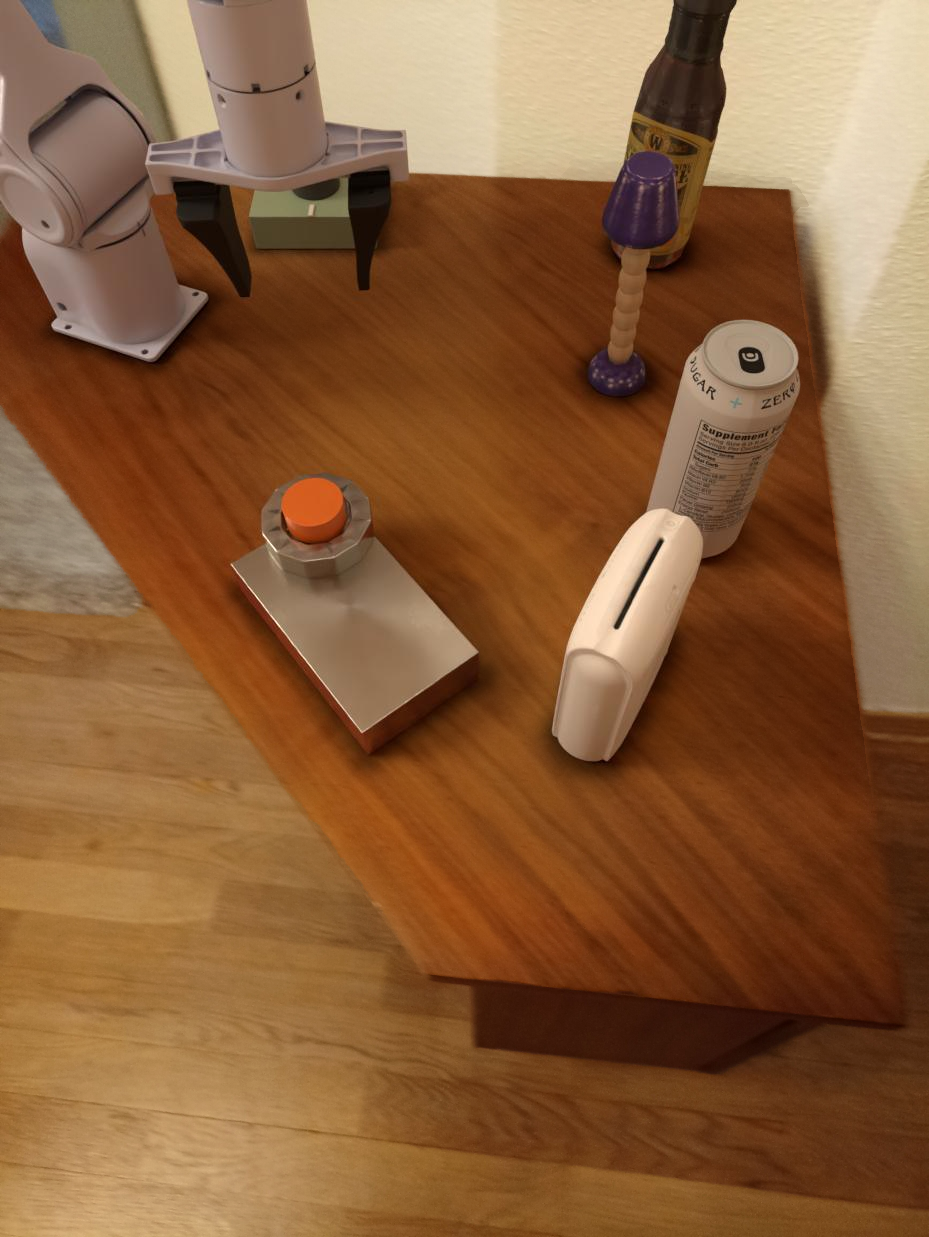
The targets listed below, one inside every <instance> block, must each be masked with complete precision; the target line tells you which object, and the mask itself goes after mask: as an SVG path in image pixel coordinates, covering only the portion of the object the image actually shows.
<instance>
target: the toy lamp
mask: <svg viewBox="0 0 929 1237" xmlns="http://www.w3.org/2000/svg"><path fill="white" fill-rule="evenodd" d="M623 163H624V162H623ZM623 163H622V166H621V167H620V170H619V173H618V175H617V178H616V179H615V182H614V184H613V186H612V189H611V191H610V194H609V196H608V198H607V200H606V201H607V202H606V204H605V207H604V208H603V212H602V215H601V216H602V217H601V226H602V229H603V231H604V233H605V234H606V235H607V237H608V238H609V239H610V240H612V241H614V242H616V243H617V244H619V245H621V246H624V247H625V249H624V251H623V253H622V258H621V259H620V261H621V262H620V263H621V269H620V271H619V275H618V288H617V291H616V293H615V294H616V295H615V307H614V308H613V311H612V325H611V327H610V332H609V337H610V341H609V343H608V345H607V347H606V348H604V349H602V350H601V351H599V352H598V353H597V354H595V355H594V356H593V358H592V360H591V361H590V363H589V366H588V369H587V379H588V381H589V384H590V385H591V387H593V388H594V389H595V390H596V391H597V392H599V393H601V394H603V395H605V396H609V397H616V398H620V397H628V396H630V395H633V394H635V393H637V392H638V391H639V390H640V389H642V387H643V386H644V384H645V382H646V378H647V377H646V376H647V373H646V372H647V371H646V366H645V363H644V361H643V359H642V357H641V356H640V355H639V354H638V353H637V352H635V351H634V340H635V338H636V335H637V324H638V322H639V319H640V307H641V306H642V303H643V299H644V291H643V289H644V287H645V285H646V282H647V269H648V268H647V266H648V264H649V261H650V251H649V249H653V248H656V247H659V246H662V245H664V244H666V243H667V242H668V241H670V240H671V239H672V238H673V237H674V235H675V234H676V232H677V230H678V226H679V206H678V193H677V181H676V172H675V167H674V164H673V163H672V161H671V160H670V159H669V158H668V157H667V156H665V155H664V154H662V153H659V152H654V151H642V152H638V153H635V154H633V155H632V156H630V157H629V158H628V159H627V160H626V161H625V163H624V164H623Z"/></svg>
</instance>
